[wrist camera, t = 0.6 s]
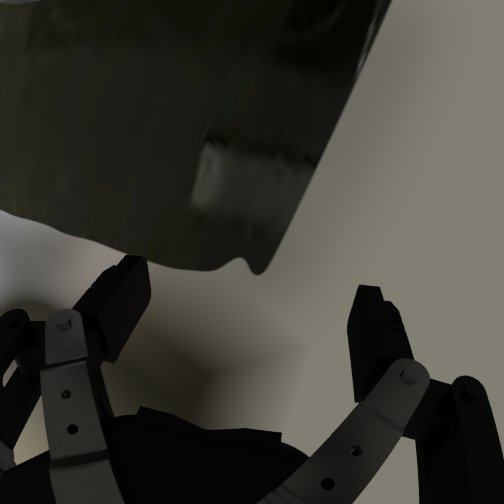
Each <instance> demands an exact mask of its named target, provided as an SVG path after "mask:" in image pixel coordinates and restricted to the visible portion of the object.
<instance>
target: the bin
mask: <svg viewBox="0 0 504 504" xmlns="http://www.w3.org/2000/svg"><path fill="white" fill-rule="evenodd" d="M36 1H42V0H0V3H7V4H19V5H20V4H25V3H30V2H36Z"/></svg>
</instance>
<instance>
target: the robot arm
mask: <svg viewBox="0 0 504 504" xmlns="http://www.w3.org/2000/svg"><path fill="white" fill-rule="evenodd" d="M150 297H151V286H150V279H149V271H148V264H147V260H146V258H145V257H141V256H134V255H126V256H124V258H123V259H122V260H121V261H120V262H119V264H118V265H117V266H116V265H113V266H111V267H110V268H108V269H107V270H105V271H103V272H102V273H101V275H100V276H99V277H98V278H97V279H96V281H95V282H94V283H93V284H92V285H91V288H89V289H88V290H87V291H86V292H85V293H84V295H83V296H82V297H81V298H80V299H79V301H78V302H77V303H76V304H75V305H74V307H73V308H72V309H63V310H59V311H57V312H55V313H53V314H52V315H51V316H50V317H49V318H48V319H47V320H46V321H30V319H29V317H28V314H27V312H26V311H24V310H22V309H13V310H10V311H8V312H6V313H4V314H3V315H2V316H1V317H0V504H352V503H353V502H354V501H355V500H356V499H357V497H358V496H359V495H360V493H361V492H362V491H363V490H364V489H365V487H366V486H367V485H368V483H369V482H370V481H371V479H372V478H373V477H374V476H375V474H376V473H377V471H378V470H379V469H380V467H381V466H382V465H383V463H384V461H385V460H386V459H387V457H388V456H389V454H390V453H391V452H392V450H393V448H394V447H395V445H396V444H397V442H398V441H399V439H400V438H401V436H403V437H407V438H410V439H414V440H415V443H416V454H417V465H418V482H419V504H504V458H503V453H502V449H501V444H500V441H499V436H498V432H497V428H496V424H495V421H494V417H493V413H492V410H491V406H490V403H489V400H488V396H487V393H486V390H485V388H484V387H483V385H482V384H481V383H480V382H479V381H478V380H477V379H475V378H473V377H470V376H460V377H458V378H456V379H455V380H454V382H453V383H452V385H451V384H447V383H444V382H440V381H437V380H434V379H431V378H430V376H429V373H428V371H427V370H426V368H425V367H424V366H423V365H422V364H421V363H419V362H417V361H415V360H414V357H413V354H412V350H411V347H410V344H409V340H408V337H407V335H406V332H405V328H404V325H403V323H402V319H401V316H400V313H399V310H398V309H397V308H396V307H395V306H394V305H393V303H392V302H391V301H384V299H383V295H382V292H381V289H380V287H377V286H367V285H359V286H358V289H357V292H356V296H355V299H354V302H353V306H352V308H351V312H350V315H349V318H348V324H347V335H348V343H349V351H350V359H351V369H352V379H353V389H354V400H355V403H359V404H358V405H357V406H356V407H355V408H354V409H353V411H352V412H351V413H350V414H349V415H348V417H347V418H346V419H345V420H344V421H343V422H342V423H341V425H340V426H339V427H338V428H337V429H336V430H335V431H334V432H333V433H332V434H331V436H330V437H329V438H328V439H327V440H326V441H325V442H324V443H323V444H322V445H321V446H320V447H319V448H318V450H316V451H315V452H314V454H313V455H312V456H311V457H308V456H307V455H306V454H304V453H303V452H301V451H300V450H298V449H296V448H295V447H293V446H290V445H288V444H286V443H283V442H281V435H282V433H281V432H272V431H263V430H256V429H248V428H240V429H223V430H206V429H203V428H201V427H198V426H196V425H194V424H192V423H190V422H188V421H186V420H183V419H181V418H179V417H177V416H175V415H173V414H169V413H165V412H161V411H158V410H154V409H150V408H146V407H142V406H140V408H139V410H138V412H137V415H123V416H118V417H115V416H114V413H113V410H112V408H111V404H110V401H109V397H108V394H107V390H106V386H105V383H104V379H103V375H102V371H101V368H100V365H101V364H102V362H103V361H106V362H110V363H113V364H114V363H115V361H116V360H117V358H118V356H119V354H120V353H121V351H122V349H123V347H124V345H125V344H126V342H127V340H128V338H129V337H130V335H131V333H132V332H133V330H134V328H135V326H136V325H137V323H138V321H139V320H140V318H141V316H142V315H143V313H144V311H145V310H146V308H147V306H148V304H149V302H150ZM13 360H15V362H16V363H17V365H18V367H17V368H16V370H15V371H14V373H13V374H12V376H11V378H10V379H9V381H8V382H7V384H6V386H5V387H4V386H3V376H4V374H5V372H6V370H7V369H8V367H9V366H10V364H11V363H12V361H13ZM41 394H42V402H43V411H44V419H45V427H46V433H47V439H48V445H49V450H48V451H46V452H44V453H41V454H39V455H38V456H35V457H33V458H31V459H29V460H27V461H25V462H23V463H21V464H19V465H16V463H15V462H14V452H13V449H14V447H15V445H16V442H17V441H18V438H19V436H20V434H21V432H22V430H23V428H24V426H25V424H26V422H27V421H28V419H29V417H30V415H31V412H32V411H33V409H34V407H35V405H36V403H37V402H38V400H39V398H40V396H41Z"/></svg>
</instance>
